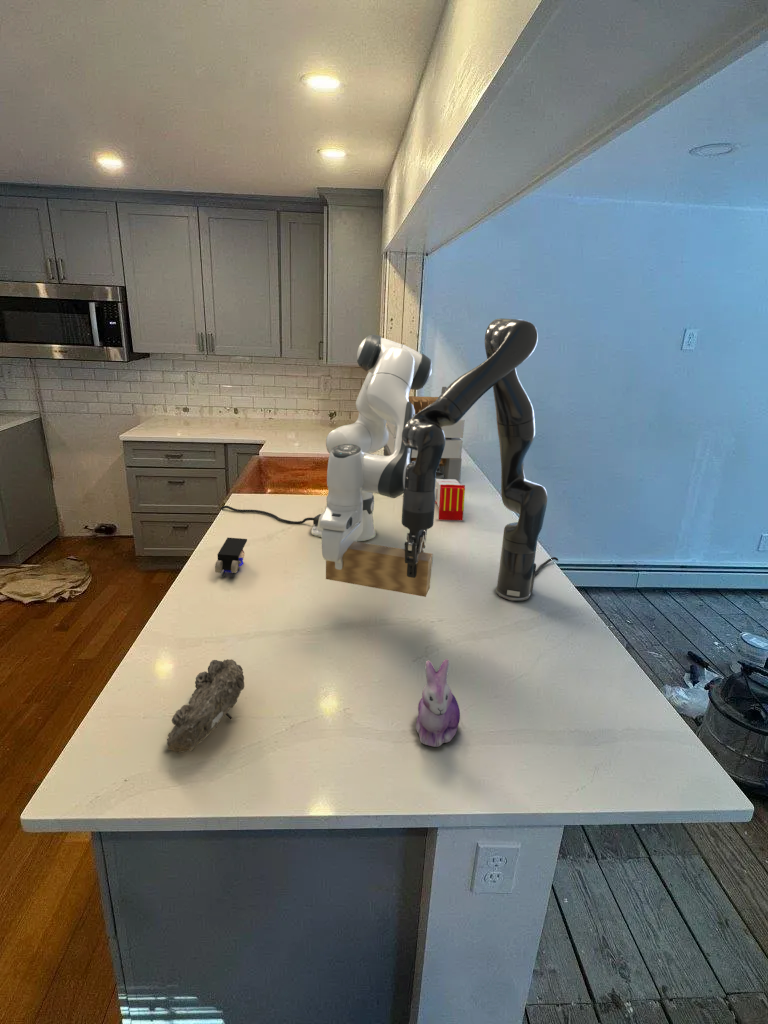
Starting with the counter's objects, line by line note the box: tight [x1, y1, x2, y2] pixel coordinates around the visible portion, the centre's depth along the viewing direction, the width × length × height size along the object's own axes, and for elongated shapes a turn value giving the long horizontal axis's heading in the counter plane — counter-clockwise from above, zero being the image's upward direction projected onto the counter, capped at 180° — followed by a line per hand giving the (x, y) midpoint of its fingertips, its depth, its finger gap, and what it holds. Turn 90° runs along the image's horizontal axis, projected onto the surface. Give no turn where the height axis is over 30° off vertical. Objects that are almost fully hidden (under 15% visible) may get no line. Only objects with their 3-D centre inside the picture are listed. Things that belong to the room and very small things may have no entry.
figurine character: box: [214, 537, 248, 578], centre depth 166 cm, size 7×8×15 cm
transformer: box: [383, 386, 465, 483], centre depth 268 cm, size 34×33×41 cm
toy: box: [435, 478, 466, 521], centre depth 226 cm, size 12×13×30 cm
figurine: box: [415, 658, 461, 748], centre depth 104 cm, size 9×10×15 cm
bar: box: [325, 541, 434, 598], centre depth 140 cm, size 26×5×9 cm, turn 74°
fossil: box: [166, 658, 245, 754], centre depth 106 cm, size 22×10×15 cm
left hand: (343, 563), depth 143 cm, fingers closed on bar, 5 cm apart
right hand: (414, 571), depth 138 cm, fingers closed on bar, 5 cm apart
